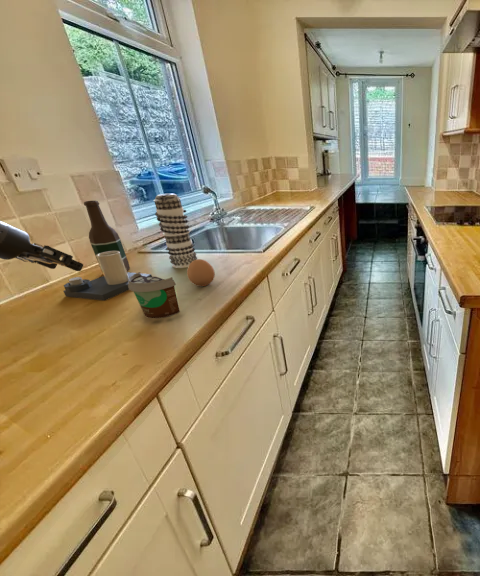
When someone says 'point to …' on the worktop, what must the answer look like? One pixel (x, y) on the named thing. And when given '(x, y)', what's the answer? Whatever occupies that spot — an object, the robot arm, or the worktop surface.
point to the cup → (112, 267)
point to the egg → (200, 272)
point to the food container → (154, 295)
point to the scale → (97, 288)
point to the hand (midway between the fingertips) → (68, 266)
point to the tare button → (76, 281)
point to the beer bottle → (103, 233)
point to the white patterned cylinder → (175, 230)
